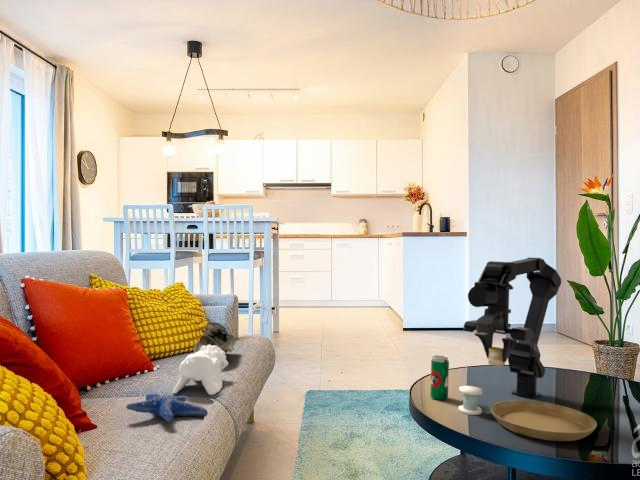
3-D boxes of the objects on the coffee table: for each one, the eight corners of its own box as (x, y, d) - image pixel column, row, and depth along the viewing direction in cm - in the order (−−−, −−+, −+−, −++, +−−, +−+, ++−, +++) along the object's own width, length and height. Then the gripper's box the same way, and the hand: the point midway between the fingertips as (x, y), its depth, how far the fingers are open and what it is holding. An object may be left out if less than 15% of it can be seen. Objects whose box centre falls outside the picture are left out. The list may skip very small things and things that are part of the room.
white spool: (466, 406, 138) (467, 384, 138) (486, 412, 134) (486, 389, 134) (454, 410, 134) (454, 388, 134) (474, 416, 130) (474, 393, 130)
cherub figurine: (234, 346, 160) (217, 352, 140) (230, 386, 158) (213, 398, 138) (194, 343, 161) (172, 349, 141) (190, 382, 159) (167, 394, 139)
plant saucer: (492, 406, 140) (492, 394, 140) (589, 419, 131) (589, 407, 131) (488, 436, 117) (488, 422, 117) (604, 454, 108) (604, 439, 108)
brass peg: (493, 361, 145) (493, 346, 145) (507, 364, 141) (508, 349, 141) (485, 363, 142) (485, 348, 142) (499, 366, 138) (500, 350, 138)
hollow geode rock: (221, 362, 200) (196, 334, 200) (244, 341, 200) (220, 313, 200) (201, 379, 172) (173, 346, 172) (229, 354, 172) (200, 322, 172)
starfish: (198, 431, 114) (198, 410, 114) (117, 428, 115) (118, 407, 115) (216, 405, 133) (216, 386, 133) (147, 402, 134) (147, 384, 134)
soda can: (448, 401, 142) (449, 359, 142) (430, 400, 143) (431, 358, 143) (447, 396, 147) (448, 355, 147) (430, 394, 148) (431, 354, 148)
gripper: (453, 303, 143) (452, 357, 143) (515, 311, 129) (514, 371, 129) (474, 301, 151) (473, 353, 151) (535, 308, 137) (533, 365, 137)
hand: (496, 360), depth 142 cm, fingers closed on brass peg, 4 cm apart
